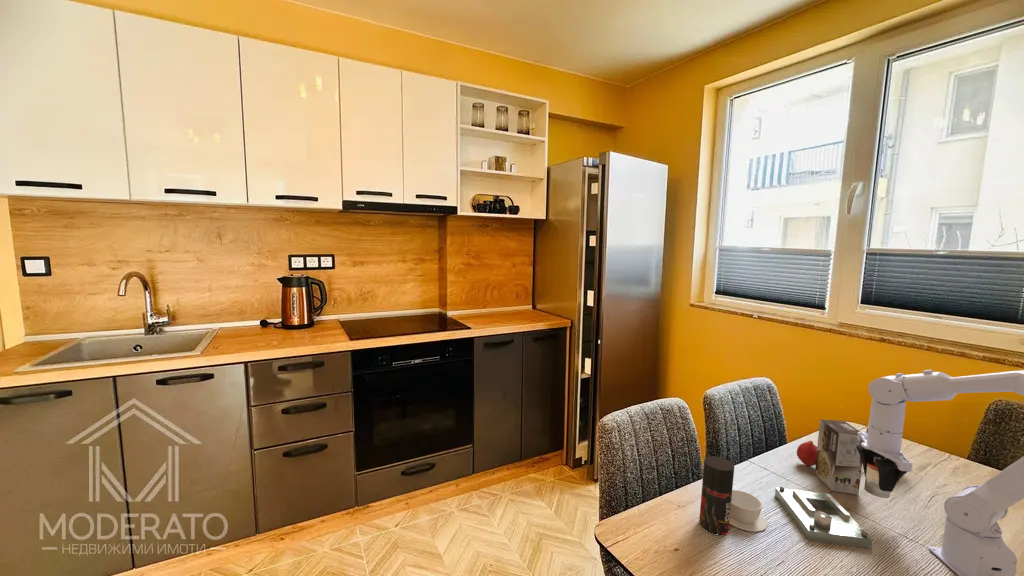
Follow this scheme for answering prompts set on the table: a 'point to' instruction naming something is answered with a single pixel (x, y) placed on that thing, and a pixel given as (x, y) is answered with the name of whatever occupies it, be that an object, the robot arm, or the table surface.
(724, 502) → the deodorant
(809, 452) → the onion
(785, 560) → the table surface
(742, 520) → the teacup
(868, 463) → the spout can
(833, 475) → the coffee box
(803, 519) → the mounting plate with knobs
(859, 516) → the table surface
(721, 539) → the table surface
